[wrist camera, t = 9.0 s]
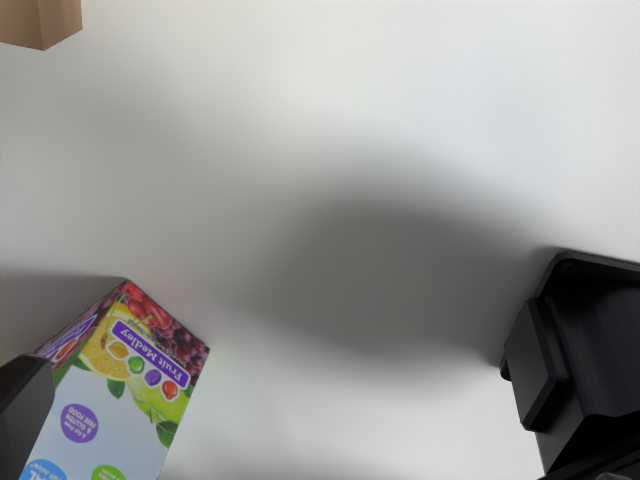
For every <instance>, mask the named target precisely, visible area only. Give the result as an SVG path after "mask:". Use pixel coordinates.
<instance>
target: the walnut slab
mask: <svg viewBox="0 0 640 480" xmlns="http://www.w3.org/2000/svg"><path fill="white" fill-rule="evenodd" d="M80 30H82V16H81V3H80V0H0V42H2V43H7V44H12V45H17V46H22V47H27V48H32V49H37V50H42V51H44V50H46V49H48V48H49V47H51V46H53V45H55V44H57V43H58V42H60V41H62V40H64V39H66V38H67V37H69V36H71V35H73V34H74V33H76V32H78V31H80Z"/></svg>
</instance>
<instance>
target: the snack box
mask: <svg viewBox="0 0 640 480" xmlns="http://www.w3.org/2000/svg"><path fill="white" fill-rule="evenodd" d="M209 353H210V348H208V347H206V346H204V345H203V344H202V343H201V342H199V341H198V340H197V339H196V338H194V337H193V336H192V335H191V334H190V333H189V332H187V331H186V330H185V329H184V328H183V327H182V326H181V325H180V324H179V323H177V322H176V321H175V320H174V319H173V318H171V317H170V316H169V315H168V314H167V313H166V312H164V311H163V310H162V309H161V308H160V307H159V306H158V305H156V304H155V303H154V302H153V301H152V300H151V299H150V298H149V297H148V296H146V295H145V294H144V293H143V292H142V291H141V290H140V289H139V288H137V287H136V286H135V285H134V284H133V283H132V282H130V281H124V282H123V283H121V284H120V285H119V286H118V287H116V288H115V289H114V290H112V291H111V292H110V293H109V294H107V295H106V296H105V297H103V298H102V299H100V300H99V301H98V302H97V303H95V304H94V305H93V306H92V307H91V308H89V309H88V310H87V311H86V312H84V313H83V314H81V315H80V316H79V317H78V318H76V319H75V320H74V321H73V322H72V323H70V324H69V325H68V326H66V327H65V328H64V329H63V330H61V331H60V332H59V333H57V334H56V335H55V336H53V337H52V338H51V339H50V340H48V341H47V342H46V343H45V344H44V345H42V346H41V347H40V348H38V349H37V350H36V351H35V352H33V353H32V354H34V355H39V356H44V357H47V358H49V359H50V361H51V364H52V370H53V377H54V383H55V399H54V402H53V405H52V407H51V410H50V412H49V414H48V416H47V419H46V421H45V423H44V425H43V427H42V430H41V432H40V434H39V436H38V438H37V441H36V443H35V445H34V447H33V450H32V452H31V454H30V456H29V458H28V461H27V463H26V465H25V467H24V469H23V472H22V474H21V476H20V478H19V480H156V479H157V477H158V475H159V472H160V470H161V467H162V465H163V462H164V460H165V457H166V455H167V452H168V450H169V448H170V445H171V443H172V441H173V438H174V435H175V433H176V431H177V428H178V426H179V423H180V421H181V419H182V416H183V414H184V412H185V409H186V407H187V404H188V402H189V399H190V397H191V394H192V392H193V390H194V388H195V385H196V383H197V381H198V378H199V376H200V374H201V371H202V369H203V366H204V364H205V362H206V360H207V357H208V355H209Z"/></svg>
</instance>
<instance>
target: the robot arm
mask: <svg viewBox="0 0 640 480" xmlns="http://www.w3.org/2000/svg"><path fill="white" fill-rule="evenodd" d="M565 264H572V265H571V266H570V267H568V268H561V267H562V266H563V265H565ZM504 349H505V354H504V356H503V358H502V360H501V362H500V364H499V369H500V374H501V377H502V378H503V379H505V380H507V381H511V382H512V386H513V390H514V395H515V400H516V404H517V409H518V414H519V418H520V422H521V424H522V426H523V427H524V429H525V430H527V431H532V432H535V435H536V439H537V444H538V448H539V452H540V456H541V460H542V465H543V469H544V473H545V476H543V477H541V478H539V479H537V480H640V266H638V265H633V264H628V263H623V262H618V261H613V260H608V259H604V258H599V257H594V256H589V255H584V254H579V253H574V252H562V253H559V254H557V255H556V256H554V258H553V259H552V260H551V262H550V264H549V266H548V268H547V270H546V272H545V274H544V276H543V278H542V280H541V282H540V284H539V286H538V288H537V290H536V292H535V294H534V296H533V297H531V298H529V299H528V300H527V301H526V302H525V303H524V305H523V307H522V309H521V311H520V314H519V316H518V318H517V320H516V322H515V324H514V326H513V328H512V330H511V332H510V334H509V336H508V338H507V340H506V342H505V344H504ZM54 399H55V383H54V377H53V370H52V364H51V361H50V359H49V358H47V357H44V356H39V355H34V354H29V353H25V354H21V355H19V356H17V357H15V358H14V359H12V360H10V361H9V362H7V363H6V364H4V365H2V366H1V367H0V480H19V478H20V476H21V474H22V472H23V469H24V467H25V465H26V463H27V461H28V458H29V456H30V454H31V452H32V450H33V447H34V445H35V443H36V441H37V438H38V436H39V434H40V432H41V430H42V427H43V425H44V423H45V421H46V419H47V416H48V414H49V412H50V410H51V407H52V405H53V402H54Z"/></svg>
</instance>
